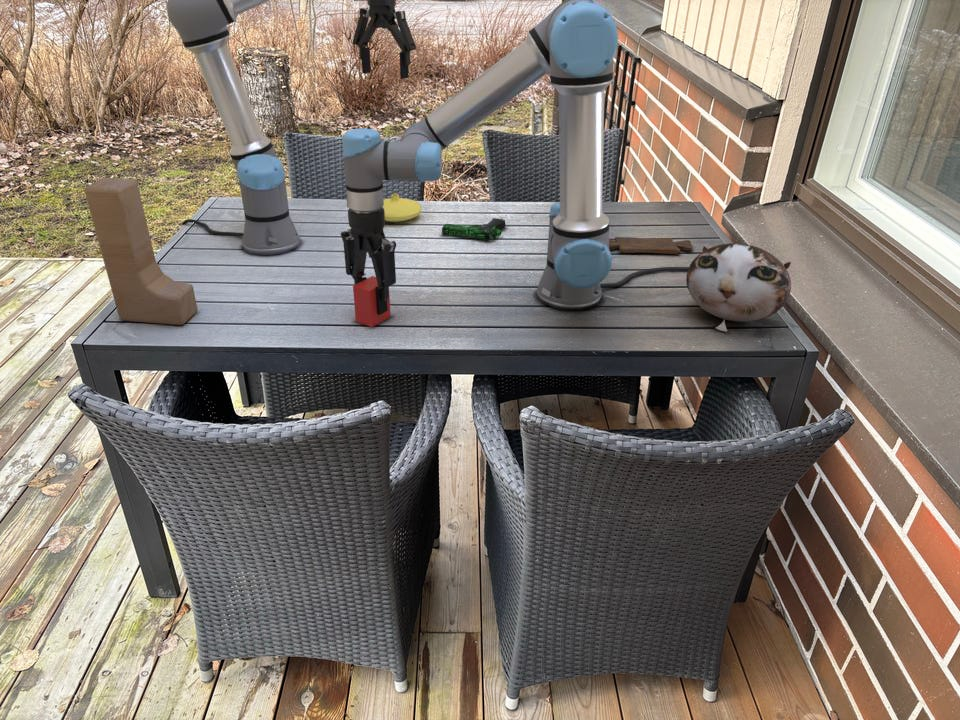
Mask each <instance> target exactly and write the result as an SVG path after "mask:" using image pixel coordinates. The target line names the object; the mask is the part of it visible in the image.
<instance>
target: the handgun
mask: <svg viewBox="0 0 960 720" xmlns="http://www.w3.org/2000/svg"><path fill="white" fill-rule="evenodd" d="M505 228H506V220H505V219H503V218H497V217H492V219H491V220H490V221H489V222H488V223H483V224H482V225H479V224H472V225H459V224H453V223H445V224H443V226H442V227H441V235H446V236H454V237H462V238H469V239H470V238H471V239H474V240H479V241H484V242H491V241H492V240H494V239H495V238H497V237H500V236H502V230H504V229H505Z"/></svg>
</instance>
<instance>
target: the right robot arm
mask: <svg viewBox="0 0 960 720" xmlns="http://www.w3.org/2000/svg"><path fill="white" fill-rule="evenodd" d="M618 46H619V32H618V27H617V24H616V21H615V20H614V17H613V16H612V14H611V13H610V12H609V11H608V10H607V9H606V8H605V7H604V6H602V5H601V4H600V3H597V2H595V1H593V0H564V1H563V2H561V3H558V5H557V6H556V7H555V8H554V9H553V10H552V11H550V12H549V14H547V16H545V17H544V18H543V19H542V20H541V21H539V23H538V24H536V25H535V26H534V27H532V28H531V29H529V30H528V31H527V32H526V37H525V40H524V41H523V42H521V43H520V44H519V45H517V47H515V48H514V49H513V50H511V51H510V52H509V53H508V54H506V55H505V56H503V57H502V58H501V59H500V60H498V61H497V62H496V63H494V64H493V65H492V66H490V67H489V68H488V69H486V70H485V71H484V72H482V73H481V74H480V75H479V76H477V77H476V78H474V79H473V80H472V81H470V82H469V83H468V84H467V85H465V86H464V87H462V88H461V89H460V90H458V92H456V93H455V94H454V95H452V96H451V97H449V98H448V99H447V100H446V101H444V102H443V103H442V104H440V105H439V106H438V107H437V108H435V109H434V110H432V111H431V112H430V113H429V114H428V115H426V116H425V117H423V119H421V120H419V121H418V122H416V123H413V124H411V125H409V126H408V127H407V128H406V129H405V130H404V131H403V133H402V135H401V138H400V141H386V140H383V139H382V138H381V133H380V131H378V130H376V129H373V128H371V129H370V128H366V127H365V128H354V129H349V130H347V131H345V132H344V133H343V135H342V161H343V162H342V163H343V170H344V180H345V181H344V182H345V192H346V195H345V197H346V207H347V208H348V210H347V220H348V226H349V229H345V230H343V231H341V232H340V237H341V239H342V242H343V253H344V264H345V273H346V275H347V276H351V277H352V279H353V283H354V284H353V285H355V284H357V283H359V282H361V281H363V280H365V279H367V278H368V277H365V276H366V275H367V273H366V272H365V269H366V262H367V255H368V257H369V258H370V259H371V263H372V267H373V270H374V274H375V277H376V279H377V283H378V286H376V287H375V289H376V304H377V314H378V315H381V314H383V313H384V312H386V311H388V307H387V299H389V297H390V287H392V286H393V285H396V283H397V275H396V273H397V272H396V255H395V252H396V247H397V242H396V241H395V240H392V241H390V240H389V239H387V237H386V234H385V232H384V228H385V226H386V221H385V212H384V208H383V206H384V199H385V198H384V183H383V181H395V182H398V181H399V182H400V181H401V182H420V183H426V182H436V181H439V180H440V179H441V177H442V171H443V170H442V169H443V151H444V150H445V149H446V148H447V147H449V146H450V145H451V144H452V143H454V142H456V141H457V140H458V139H460V138H461V137H462V136H463V135H465V134H466V133H468V132H469V131H470V130H472V129H473V128H475V127H476V126H478V125H479V124H480V123H481V122H482V121H484V120H486V119H487V118H488V117H490V116H491V115H492V114H494V113H495V112H496V111H498V110H499V109H501V108H503V106H505V105H506V104H507V103H509V102H510V101H511V100H513V99H514V98H515V97H516V96H518V95H520V94H521V93H523V92H524V91H525V90H526V89H528V88H529V87H530V86H532V85H533V84H535V83H536V82H537V81H538V80H540V79H542V78H543V77H544V76H546V75H549V76H550V79H549V80H550V82H549V84H550V85H551V86H552V87H553V88H554V89H555V90H556V91H557V93H558V142H559V143H558V152H559V153H558V155H559V157H558V159H559V163H558V165H559V166H558V167H559V201H557V202H555V203H553V204H552V205H551V206H550V211H549V214H548V219H549V223H548V224H549V225H548V239H547V251H546V266H545V268H544V270H543V273H542V275H541V276H540V277H541V278H540V280H539V282H538V285H537V290H536V297H537V299H538V300H539V301H540V302H541V303H542V304H543V305H545V306H548V307H550V308H553V309H558V310H562V311H583V310H588V309H591V308H595V307H596V306H597V305H599V304H600V302H601V301H602V300H601V299H602V289H603V288H616V287H620V286H622V285H624V284H625V283H627V282H628V281H629V280H630V279H632V278H635V277H636V276H641V275H645V274H649V273H657V272H666V271H667V272H669V271H670V272H671V271H683V272H685V271H688V268H689V266H661V267H653V268H646V269H641V270H638V271H635V272H632V273H630V274H628V275H627V276H625V277H624V278H623V279H622V280H620V281H617V282H611V283H609V282H606V283H602V282H603V281H604V280H605V279H606V278H607V277H608V275H609V273H610V272H611V270H612V265H613V263H612V262H613V257H612V252H611V250H609V239H610V218H609V217H608V216H607V214H605V213H604V212H603V186H604V185H603V184H604V183H603V181H604V139H605V138H604V136H605V135H604V134H605V133H604V129H605V92H606V89H607V88H608V87H609V86H610V84H611V83H612V82H613V80H614V58H615V56H616V52H617V50H618ZM383 280H384V281H383ZM388 287H389V288H388Z"/></svg>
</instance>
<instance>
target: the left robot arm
mask: <svg viewBox="0 0 960 720" xmlns="http://www.w3.org/2000/svg"><path fill="white" fill-rule="evenodd" d="M270 1H271V0H167V2H166V12H167V13H166V14H167V17H168V19H169V22H170V24H171V25H172V27H173V28H174V29H175V30H176V31H177V33H178V35H179V37H180V40H181V43H182V44H183V47H184V49H186V50H187V51H189V52H191V53H192V54H193V55H194V57H195V59H196V62H197V64H198V67H199V70H200V71H201V74H202V76H203V79H204V82H205V84H206V87H207V88H208V91H209V94H210V95H211V97H212V100H213V103H214V105H215V107H216V110H217V113H218V114H219V117H220V119H221V122H222V125H223V126H224V127H223V128H224V129H225V132H226V134H227V137H228V138H229V141H230V144H231V147H230V149H229V151H228V153H229V155H230V158H231V161H232V163H233V165H234V168H235V170H236V176H237V179H238V183H239V190H240V196H241V201H242V208H243V212H244V213H243V215H244V219H245V220H244V226H243V228H244V229H243V232H234V231H220V230H213V229H211V228H210V227H209V225H208V224H206V223H205V222H202V221H200V220H196V219H193V218H188V219H185V220H183V221H182V222H181V225H182V226H186V225H187V224H190V223H191V224H195V225H197V226H201V227H202V228H203V227H204V229H205V230H206V232H208V233H209V234H212V235H218V236H230V237H231V236H232V237H241V246H242V249H243V251H244V252H246V253H248V254H252V255H255V256H256V255H257V256H275V255H281V254H282V255H283V254H285V253H289V252H291V251H293V250H296V249H297V248H298V247H299V246H300V244H301V241H300V235H299V233H298V231H297V229H296V227H295V225H294V223H293V220H292V218H291V216H290V207H289V200H288V192H287V183H286V178H285V176H286V171H285V168H284V164H283V162H282V160H281V159H280V158H279V157H278V156H277V153H276V151H275V148H274V145H273V143H272V140H271V139H270V137H267V136H265V135H263V133H262V131H261V127H260V124H259V122H258V120H257V116H256V114H255V112H254V109H253V107H252V104H251V102H250V100H249V99H250V98H249V96H248V94H247V92H246V90H245V89H246V88H245V87H244V84H243V81H242V78H241V76H240V74H239V71H238V69H237V66H236V63H235V61H234V58H233V55H232V53H231V51H230V48H229V45H228V41H229V40H230V37H231V34H230V32H229V28H228V25H230V24H233V23H235V22H236V21H237V18H238V16H239V15H241V14H243V13H245V12H248V11H249V10H252V9H254V8H256V7H257V8H258V6H261V5H263V4H266V3H268V2H270ZM366 3H367V5H368V6H369V7H361V8H359V18H358V22H357V24H356V28H355V31H354V32H355V33H354V35H353V38H352V44H353V45H356V46H357V47H358V50H359V51H358V52H359V60H360V61H361V71H362V74H364V75H365V74H369V73H371V72H372V69H371V68H372V67H371V52H370V50H371V49H370V47H369V45H368V44H369V43H370V41H371V39H372V37H373V36H374V34H375V32H376V31H377V30H378V29H385V30H387V31H388V32H389V33H390V34H391V36H392V38H393V39H394V41H395V42H396V44H397V46H398V47H399V49H400V50H401V51H400V52H399V73H400V74H399V75H400V77H399V78H400V80H405V79H409V78H410V72H409V71H410V69H409V66H410V65H411V52H413V51H415V50H417V45H416V42H415V40H414V38H413V35H412V32H411V30H410V27H409V24H408V21H407V17H406V11H405V10H397V11H396V9H395V8H396V5H397V0H366ZM193 222H194V223H193Z"/></svg>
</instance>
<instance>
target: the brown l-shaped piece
mask: <svg viewBox="0 0 960 720" xmlns="http://www.w3.org/2000/svg"><path fill="white" fill-rule="evenodd" d="M83 191H84V194H85V199H86V201H87V206H88V209H89V212H90V217H91V220H92V224H93V227H94V231H95V234H96V238H97V242H98V245H99V249H100V253H101V256H102V260H103V263H104V267H105V270H106V275H107V278H108V283H109V286H110V289H111V292H112V293H111V294H112V297H113V300H114V304H115V308H116V311H117V315H118V318H119V320H120V321H124V322H137V323H150V324H160V325H161V324H162V325H173V326H174V325H175V326H182V325H185V324H186V323H187V322H188V321H189V320H190V319H192V318H193V316H194V315H195V314H196V313H197V312H198V304H197V299H196V293H195V290H194V285H192V283H187V282H182V281H177V280H174V279H172V278H171V277H170V276H167V275H166V274H164V272H163V270H162V269H161V267H160V265H159V264H158V262H157V260H156V257H155V252H154V248H153V245H152V239H151V235H150V231H149V227H148V223H147V218H146V214H145V209H144V206H143V201H142V196H141V192H140V189H139V184H138V181H137V179H133V178H116V177H115V178H114V177H104V178H101V179H99V180H97V181H96V182H93V183H92V184H90V185H87V186H85V187H84V190H83Z"/></svg>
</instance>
